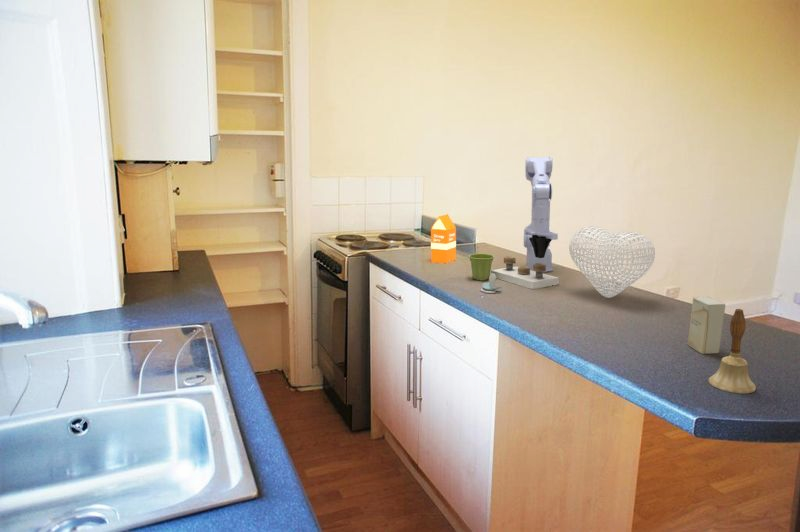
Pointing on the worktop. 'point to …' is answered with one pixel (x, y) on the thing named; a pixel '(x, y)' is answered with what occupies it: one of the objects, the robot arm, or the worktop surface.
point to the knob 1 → (509, 262)
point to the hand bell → (734, 362)
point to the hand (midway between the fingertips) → (539, 257)
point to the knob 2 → (539, 269)
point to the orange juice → (443, 240)
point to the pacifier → (490, 285)
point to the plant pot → (481, 265)
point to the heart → (616, 236)
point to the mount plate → (525, 278)
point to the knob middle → (523, 270)
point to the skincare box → (706, 325)
